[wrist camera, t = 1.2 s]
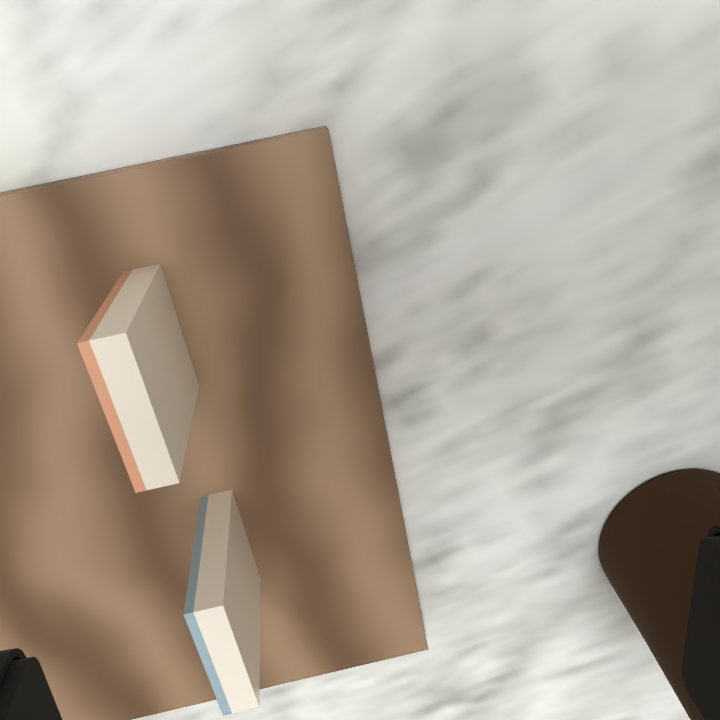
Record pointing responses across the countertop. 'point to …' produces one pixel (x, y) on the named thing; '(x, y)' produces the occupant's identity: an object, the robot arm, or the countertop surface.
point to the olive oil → (661, 561)
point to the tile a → (143, 376)
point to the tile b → (225, 603)
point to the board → (196, 429)
